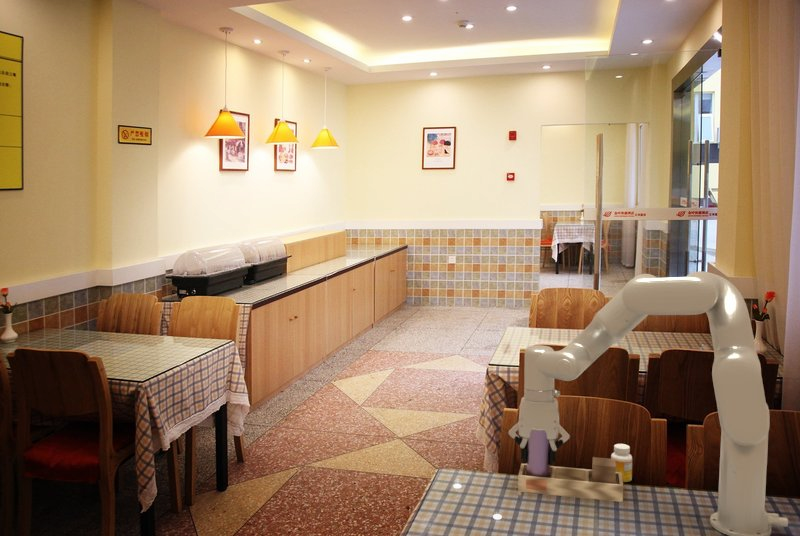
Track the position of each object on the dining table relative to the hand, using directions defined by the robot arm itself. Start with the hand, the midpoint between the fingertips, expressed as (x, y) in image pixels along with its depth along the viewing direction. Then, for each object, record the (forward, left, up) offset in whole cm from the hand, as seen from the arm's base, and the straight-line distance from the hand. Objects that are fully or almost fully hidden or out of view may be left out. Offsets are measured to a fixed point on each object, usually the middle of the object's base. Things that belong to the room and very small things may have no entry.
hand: (538, 462), depth 182 cm
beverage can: (0, 0, -5) cm, 5 cm away
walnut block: (-16, 0, -6) cm, 17 cm away
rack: (-8, 0, -7) cm, 11 cm away
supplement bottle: (-21, -11, -8) cm, 25 cm away
